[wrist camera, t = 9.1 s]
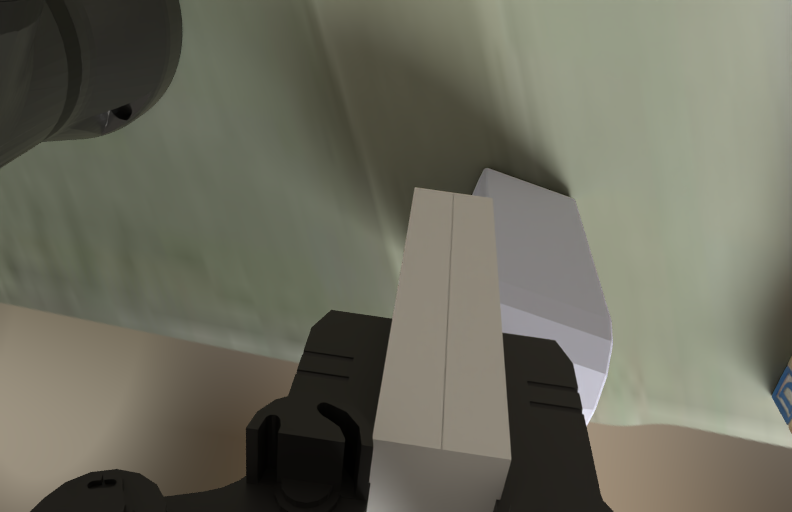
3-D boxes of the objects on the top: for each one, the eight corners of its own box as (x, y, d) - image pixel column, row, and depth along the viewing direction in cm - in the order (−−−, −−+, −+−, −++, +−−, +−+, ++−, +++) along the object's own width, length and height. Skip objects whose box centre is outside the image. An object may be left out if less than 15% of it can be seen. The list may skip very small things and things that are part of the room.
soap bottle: (474, 159, 43) (471, 406, 23) (575, 195, 43) (659, 467, 23) (426, 271, 47) (389, 559, 27) (518, 303, 48) (548, 608, 28)
